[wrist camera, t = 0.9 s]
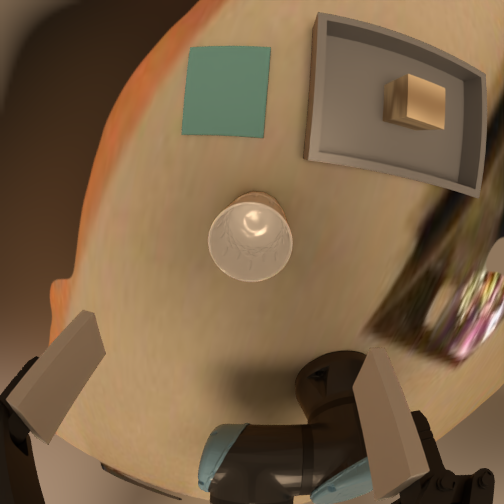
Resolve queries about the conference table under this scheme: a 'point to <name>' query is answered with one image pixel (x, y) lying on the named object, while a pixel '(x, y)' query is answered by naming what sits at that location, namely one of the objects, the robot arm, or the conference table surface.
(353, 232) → the conference table surface
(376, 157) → the crate
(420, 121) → the maple block
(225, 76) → the teal mat
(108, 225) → the conference table surface
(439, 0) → the conference table surface
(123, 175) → the conference table surface
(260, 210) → the white cup
